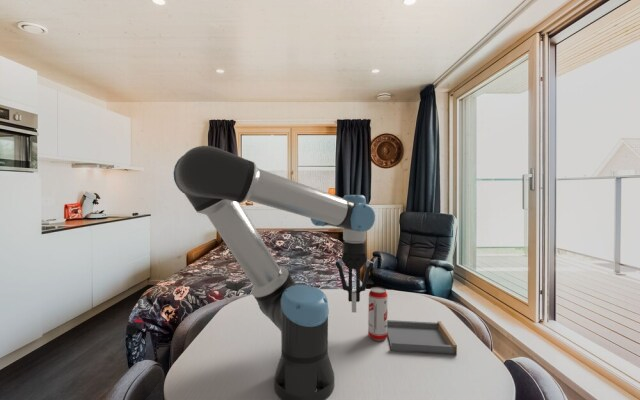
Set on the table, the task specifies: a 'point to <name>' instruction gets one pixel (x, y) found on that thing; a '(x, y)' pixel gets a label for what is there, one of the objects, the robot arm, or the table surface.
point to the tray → (420, 337)
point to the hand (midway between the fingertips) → (353, 310)
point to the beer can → (377, 313)
